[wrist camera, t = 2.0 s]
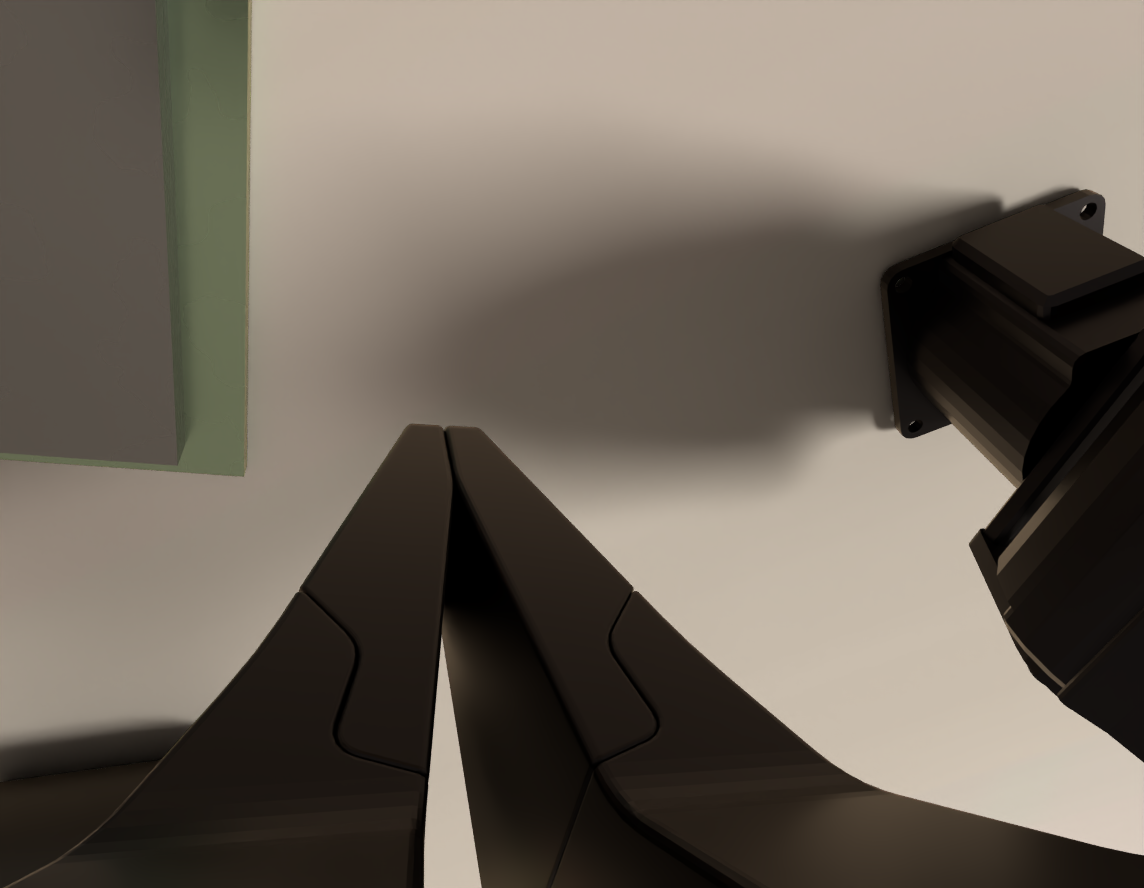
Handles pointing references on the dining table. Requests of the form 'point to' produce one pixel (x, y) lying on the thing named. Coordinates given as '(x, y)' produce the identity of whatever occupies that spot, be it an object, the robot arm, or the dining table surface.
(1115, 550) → the robot arm
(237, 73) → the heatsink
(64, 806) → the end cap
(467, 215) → the dining table surface
